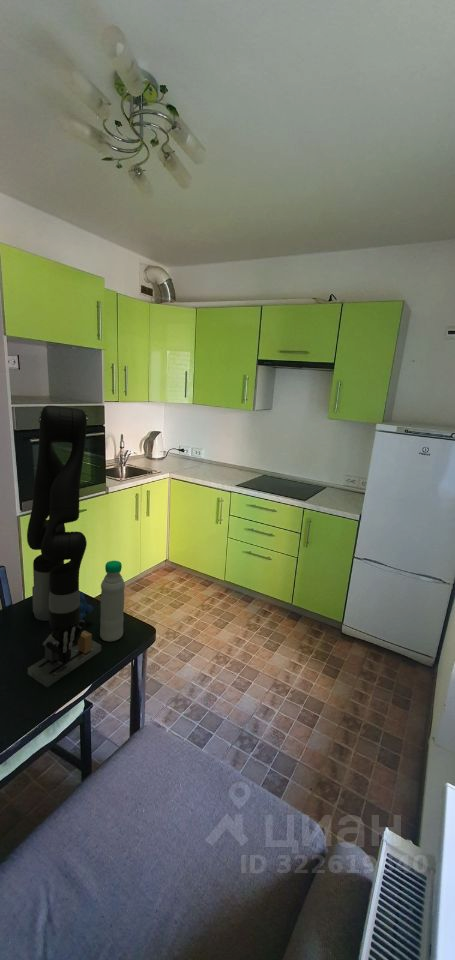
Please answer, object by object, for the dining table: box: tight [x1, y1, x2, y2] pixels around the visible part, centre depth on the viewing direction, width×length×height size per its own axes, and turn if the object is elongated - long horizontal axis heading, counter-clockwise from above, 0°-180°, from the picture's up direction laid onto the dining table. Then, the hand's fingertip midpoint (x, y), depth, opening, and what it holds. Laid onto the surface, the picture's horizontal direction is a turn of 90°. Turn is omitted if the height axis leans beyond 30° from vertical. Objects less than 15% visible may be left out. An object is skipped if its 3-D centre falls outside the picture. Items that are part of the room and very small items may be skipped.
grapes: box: [79, 591, 95, 622], centre depth 125 cm, size 12×7×12 cm, turn 18°
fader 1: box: [44, 638, 59, 662], centre depth 107 cm, size 3×2×5 cm
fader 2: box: [78, 630, 93, 654], centre depth 111 cm, size 3×2×5 cm
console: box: [27, 639, 102, 688], centre depth 110 cm, size 8×18×2 cm, turn 150°
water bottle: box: [99, 560, 126, 642], centre depth 120 cm, size 7×7×25 cm
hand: (64, 661), depth 106 cm, fingers closed
